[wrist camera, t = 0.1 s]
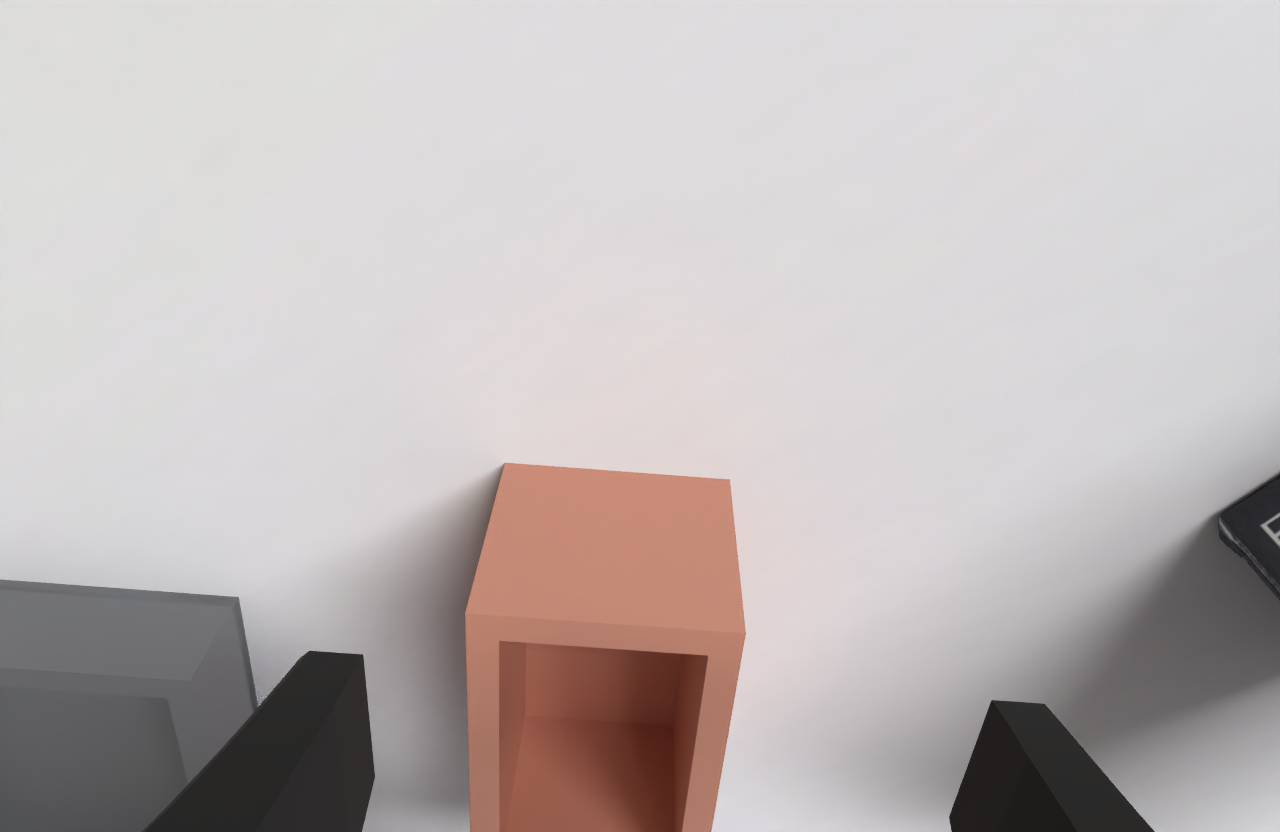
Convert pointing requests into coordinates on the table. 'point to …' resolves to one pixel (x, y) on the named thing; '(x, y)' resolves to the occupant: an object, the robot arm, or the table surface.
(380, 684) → the table surface
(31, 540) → the table surface
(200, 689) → the charcoal crate
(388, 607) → the table surface
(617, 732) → the terracotta crate
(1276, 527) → the small box
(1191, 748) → the table surface
